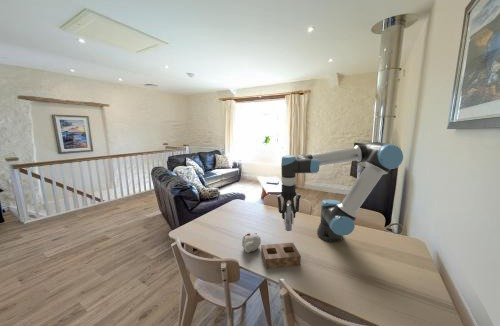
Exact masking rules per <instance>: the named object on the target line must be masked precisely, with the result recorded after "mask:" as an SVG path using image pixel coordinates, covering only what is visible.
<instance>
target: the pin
mask: <svg viewBox="0 0 500 326" xmlns="http://www.w3.org/2000/svg"><path fill="white" fill-rule="evenodd" d="M285 213H286V225H285V224H284V226H285V229H284V230H285V231H287V232H291V231H293V224H292V205H291V203H287V205H286V210H285Z"/></svg>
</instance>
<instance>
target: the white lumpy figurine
mask: <svg viewBox="0 0 500 326" xmlns="http://www.w3.org/2000/svg"><path fill="white" fill-rule="evenodd" d="M241 241H242V242H241V244H242V245H241V246H242V247H243V249H244V251H245V253H247V254H248V253H251V252H255V251H257V250H258V249H259V247H260V246H261V245H262V244H261V241H262V240H261V236H260V235H258V233H257V232H253V233H250V232H248V233H247V234H245V235H243V238H242V240H241Z"/></svg>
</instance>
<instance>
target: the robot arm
mask: <svg viewBox="0 0 500 326" xmlns="http://www.w3.org/2000/svg"><path fill="white" fill-rule="evenodd" d="M403 160H404V153H403V150H402V149H401V148H400V147H399V146H398V145H395V144H392V143H385V142H378V141H376V142H375V141H374V142H369V143H362V144H357V145H354V147H348V148H343V149H336V150H329V151H324V152H317V153H311V154H299V155H298V156H295V155H290V154H289V155H288V154H287V155H283V156H282V157H281V165H280V166H281V168H280V169H281V192H280V194H277V195H276V199H277V209H278V213H279V214H281V218H282V220H283V225H284V226H285V225H286V213H285V210H286V205H287V204H288V201H290V204H291V205H292V225H294V223H295V222H294V221H295V220H294V219H296V214H297V212H299V210H300V199H301V196H302V195H301V194H300V193H297V191H296V189H297V188H296V181H297V180H296V176H297V175H296V174H317V173H319V171H320V166H327V165H334V164H341V163H348V162H353V161H355V162H358V163H359V162H360V163H361V162H364V163H365V167H364V168H363V170H362V172H361V173H360V175H359V176H358V178H357V179H356V180H355V182H354V183H353V184H352V186H351V188H350V189H349V191H348V193H346V195H345V197H344V198H343V200H342V201H340V200H336V199H323V200H322V201H321V205H320V206H321V207H320V222H319V225H318V227H317V230H316V234H317V236H318V238H320V239H321V240H324V241H326V242H332V243H336V242H337V243H338V242H340V241H342V240H343V236H344V237H345V236H347V235H350V234H352V233H353V232H354V230H355V226H356V225H355V221H356V219H357V218H358V215H357V212H358V211H359V210H360V208H361V207H362V205H363V204H364V203H365V201H366V200H367V198H368V197H369V195H370V194H371V192H372V191H373V189H374V188H375V187H376V185H377V183H378V182H379V181H380V179H381V178H382V176H383V175H387V174H389V172H390V171H391V170H393V169H395V168H398V167H399V166H401V164H402V162H403ZM294 198H295V200H294ZM282 199H283V203H282Z"/></svg>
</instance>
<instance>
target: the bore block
mask: <svg viewBox="0 0 500 326" xmlns="http://www.w3.org/2000/svg"><path fill="white" fill-rule="evenodd" d="M260 246H261V247H260V248H261V250H260V252H261V258H262V260H263V265H264V268H265V269H272V268H283V267H284V268H285V267H292V266H301V263H302V262H301V261H302V260H301V259H302V255H301V254H300V252H299V251H298V249H297V247H296V245H295V243H294V242H282V243H271V244H260Z"/></svg>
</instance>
